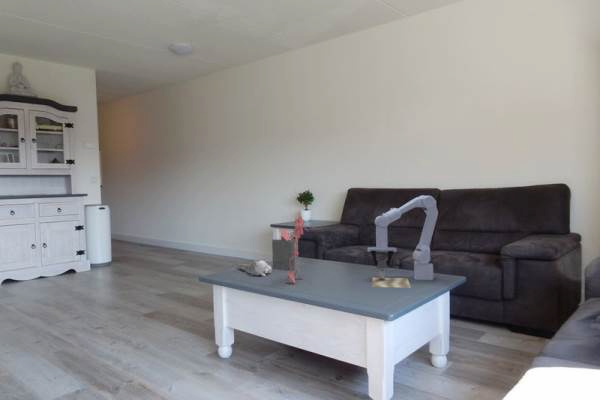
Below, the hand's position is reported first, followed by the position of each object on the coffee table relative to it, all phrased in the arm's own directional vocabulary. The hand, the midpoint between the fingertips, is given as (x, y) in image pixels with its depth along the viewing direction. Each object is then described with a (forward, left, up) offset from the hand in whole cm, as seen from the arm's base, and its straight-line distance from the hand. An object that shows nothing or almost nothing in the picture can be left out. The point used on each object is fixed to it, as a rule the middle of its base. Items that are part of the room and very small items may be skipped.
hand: (382, 265), depth 218 cm
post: (0, 0, -8) cm, 8 cm away
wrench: (+77, -18, -9) cm, 80 cm away
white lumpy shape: (+66, -12, -9) cm, 67 cm away
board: (-4, +5, -8) cm, 11 cm away
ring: (0, 0, -1) cm, 1 cm away
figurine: (+42, +3, -9) cm, 43 cm away
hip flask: (+58, -30, -9) cm, 66 cm away
